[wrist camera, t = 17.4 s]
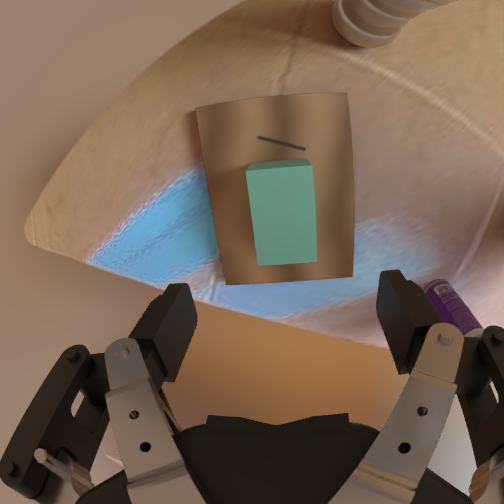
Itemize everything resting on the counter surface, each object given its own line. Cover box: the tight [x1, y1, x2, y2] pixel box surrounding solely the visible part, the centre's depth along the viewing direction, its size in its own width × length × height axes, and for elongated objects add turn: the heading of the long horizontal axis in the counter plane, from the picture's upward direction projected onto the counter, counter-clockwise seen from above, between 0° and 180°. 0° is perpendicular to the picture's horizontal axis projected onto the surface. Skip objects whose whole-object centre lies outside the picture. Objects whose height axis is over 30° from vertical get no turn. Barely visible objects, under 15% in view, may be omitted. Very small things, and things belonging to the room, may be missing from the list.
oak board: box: [195, 93, 354, 285], centre depth 26 cm, size 14×19×2 cm
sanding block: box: [246, 158, 317, 266], centre depth 23 cm, size 5×8×5 cm, turn 7°
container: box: [424, 279, 484, 338], centre depth 23 cm, size 5×5×15 cm
